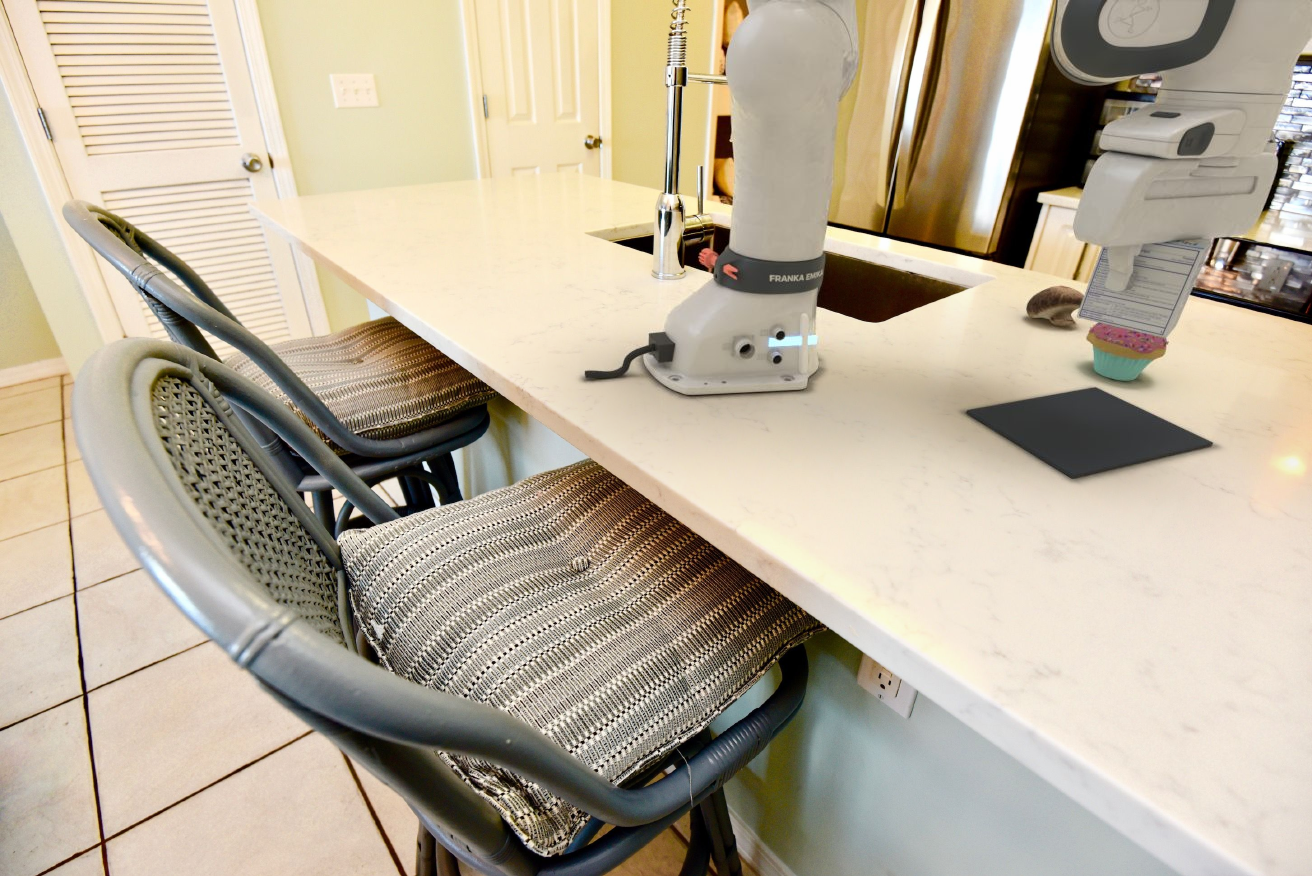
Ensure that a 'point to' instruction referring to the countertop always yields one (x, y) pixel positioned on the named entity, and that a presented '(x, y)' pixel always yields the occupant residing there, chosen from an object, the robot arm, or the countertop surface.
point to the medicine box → (1147, 288)
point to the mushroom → (1055, 305)
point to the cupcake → (1123, 351)
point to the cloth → (1087, 431)
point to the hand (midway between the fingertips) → (1142, 286)
